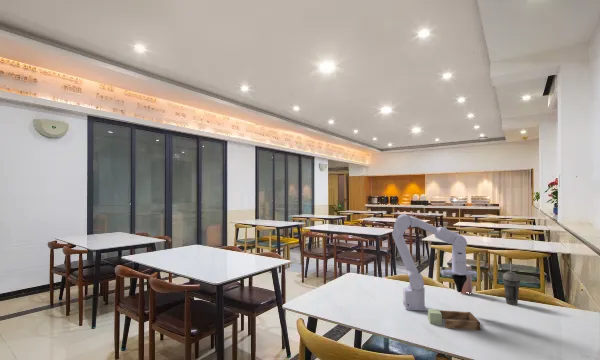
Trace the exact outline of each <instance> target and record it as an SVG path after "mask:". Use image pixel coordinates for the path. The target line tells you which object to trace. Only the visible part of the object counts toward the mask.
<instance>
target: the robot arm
mask: <svg viewBox="0 0 600 360" xmlns="http://www.w3.org/2000/svg"><path fill="white" fill-rule="evenodd" d="M409 227H411V228H420V229H422V230H424V231H426V232H429V233H431V234H433V235H434V237H435V238H436V239H438V240H439V241H441V242H444V243H446V244H449V245H451V246H452V247H451V249H452V250H451V269H441V275H442V276H451V277H452V280H453V282H454V284H455V288H456V292H457V293H460V292H462V288H463V285H464V283H465V282H466V280H467V277H466V276H472V277H474V278H475V277H476V278H477V277H478V272H477V271H474V270H473V271H466V264H467V252H466V247H467V246H468V242H467V239H466V238H465V237H464V236H463V235H461V234H460V233H458V232H456V231H452V230H449V229H447V227H446V226H439V227H437V226H434V225H432V224H430V223H428V222H427V221H424V220H422V219H419V217H415V216H412V215H408V214H406V213H400V214H399V215H398V216H397V218H396V220H395V222H394V225H393V227H392V233H391V234H392V239H393V241H394V243H395V246H396V248H397V250H398V253H399V256H400V257H401V260H402V263H403V266H404V267H405V271H406V273H407V276H408V280H409V285H408V287H404V288H403V290H402V292H403V296H402V297H403V299H402V302H403V306H404V308H405V310H408V311H421V312H423V311H426V312H428V308H427V307H426V306H425V305H426V303H425V301H426V299H425V297H426V296H425V293H426V292H425V291H426V290H425V283H424V278H423V275H422V273H421V272H419V270H418V268H417V267H416V264H415V262H414V258H413V256H412V254H411V252H410V250H409V246H407V242H406V240H405V237H404V235H405V231H406V230H408V229H409Z"/></svg>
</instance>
